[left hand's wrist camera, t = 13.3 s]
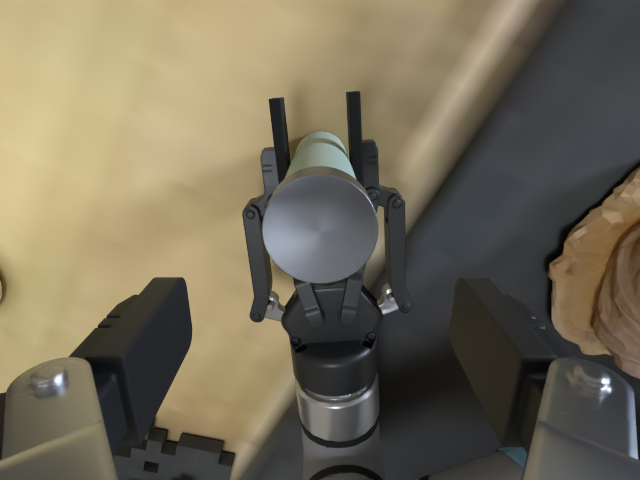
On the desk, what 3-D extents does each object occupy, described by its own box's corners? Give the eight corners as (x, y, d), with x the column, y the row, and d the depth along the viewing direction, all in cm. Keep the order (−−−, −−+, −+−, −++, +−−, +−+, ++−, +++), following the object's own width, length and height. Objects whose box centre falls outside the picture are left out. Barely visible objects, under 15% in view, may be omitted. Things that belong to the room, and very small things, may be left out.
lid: (376, 166, 18) (382, 175, 16) (369, 267, 20) (374, 284, 18) (265, 164, 18) (259, 172, 16) (268, 266, 20) (263, 282, 18)
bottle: (347, 131, 35) (374, 179, 17) (344, 182, 36) (367, 275, 18) (295, 130, 35) (267, 177, 17) (295, 181, 36) (270, 273, 18)
